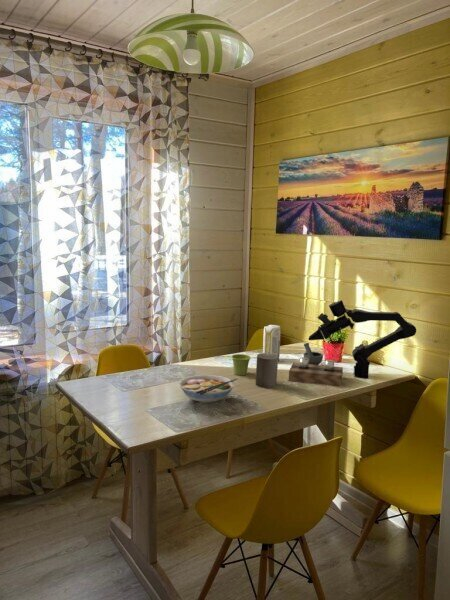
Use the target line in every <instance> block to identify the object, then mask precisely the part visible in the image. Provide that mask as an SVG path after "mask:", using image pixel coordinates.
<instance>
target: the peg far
mask: <svg viewBox="0 0 450 600" xmlns="http://www.w3.org/2000/svg"><path fill="white" fill-rule="evenodd" d="M299 363H300V369H308V358H305V357H304V356H303V357H299Z"/></svg>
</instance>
